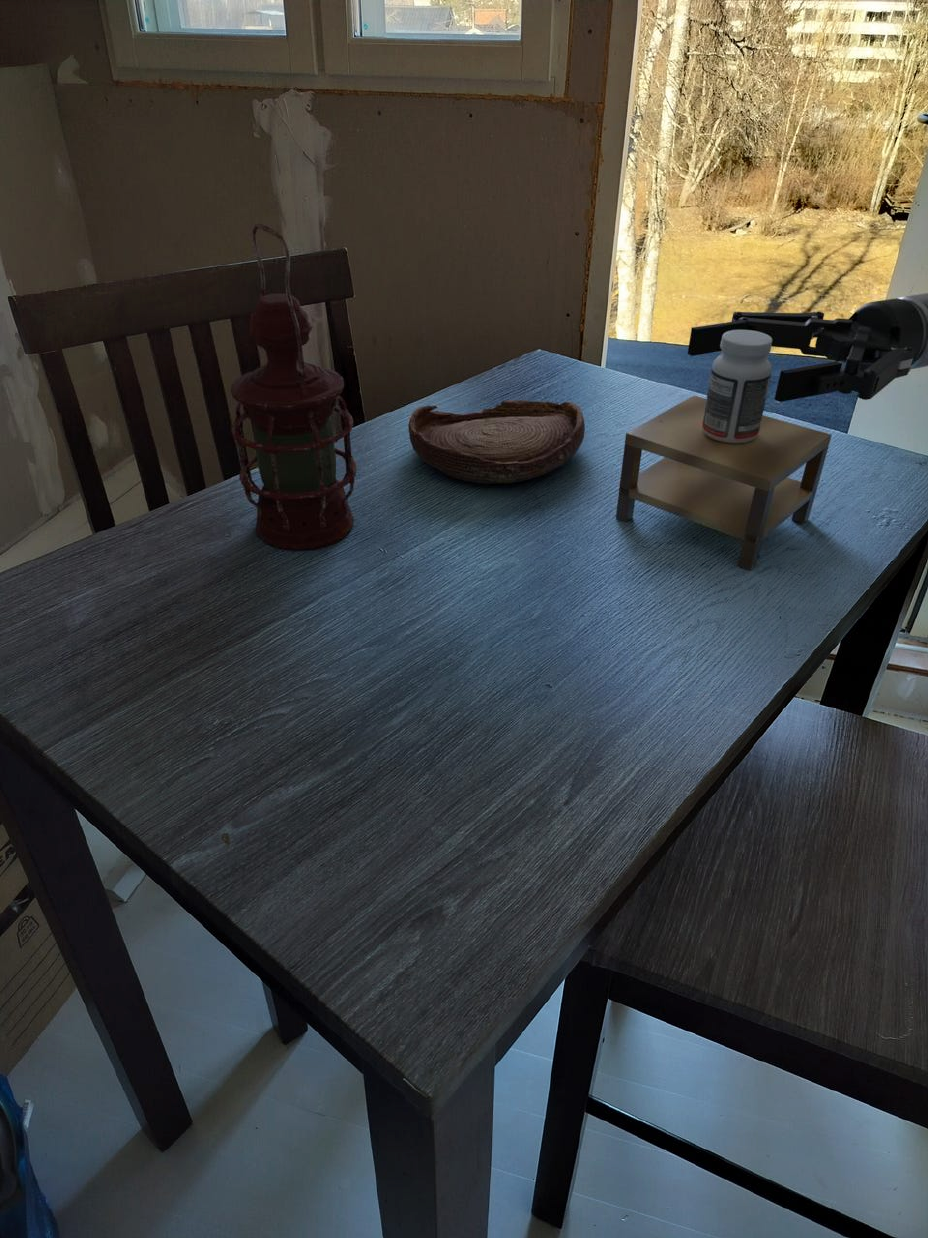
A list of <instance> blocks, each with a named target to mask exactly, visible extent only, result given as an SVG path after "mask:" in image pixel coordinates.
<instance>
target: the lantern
mask: <svg viewBox="0 0 928 1238" xmlns="http://www.w3.org/2000/svg"><path fill="white" fill-rule="evenodd" d="M258 229H259V230H262V231H264V232H266V233H267V234H269V235H272V236H274V237H275V238H277V239H278V240H279V241H280V243H281V246H282V248H283V250H284V253H285V254H284V255H285V274H284V288H285V293H271V294H267V295H265V294H266V277H265V269H264V265H263V260H262V257H261V254H260V250H259V246H258V241H257V231H258ZM251 238H252V239H251V240H252V245H253V250H254V253H255V257H256V260H257V264H258V268H259V273H260V285H261V286H260V287H261V288H260V298H259V299H258V301H257V302H256V304H255V310H254V311H253V313H252V314H251V315H250V319H249V320H250V326H249V328H248V332H249V335H250V336H252V337H253V340H254V342H255V345H256V346H258V347H260V348H262V349H263V350H264V351H265V355H266V360H267V362H266V364H265V365H262V366H260V367H257V368H256V369H254V370H252V371H249V372H245V373H244V374H242V375H241V376H239V377H238V378H236V379H235V380H234V382H232V384H231V385H230V394H231V396H232V398H233V399H234V400H235V401H236V402H237V405H236V407H235V419H234V420H233V422H232V424H231V427H230V429H231V430H230V431H231V434H232V437H233V438H234V440H235V441H236V446H237V450H238V456H239V461H240V462H239V463H240V470H239V473H238V474H239V475H238V478H239V481H240V484H241V485H242V486H243V490H244V493H245V497H246V499H247V500H248V502H249V503H250V504H252V505H253V506H255V508H256V509H257V511H256V513H257V514H256V522H255V532H256V534H257V536H258V538H259V539H260V540H261V541H262V542H264V543H265V544H267V545H269V546H271V547H273V548H278V549H281V550H286V551H305V550H317V549H322V548H324V547H328V546H332V545H334V544H336V543H337V542H339V541H340V540H343V539H344V538H345V537H346V536H348V535H349V534H350V533H351V530H352V529H353V527H354V523H355V519H354V515H353V513H352V511H351V507H350V506H349V502H348V500H349V498H350V496H351V495H352V494H353V493H354V489H355V485H354V484H355V477H356V476H357V469H358V468H357V462H356V460H355V458H354V457H353V455H352V446H351V433H352V430H353V426H354V419H353V417H352V415H351V413H350V411H349V410H348V408H347V403H346V401H345V399H344V397H342V395H341V394H342V392H343V389H344V387H345V381H344V377H342V376H341V374H339V372H337V371H335V370H333V369H330V368H327V367H323V366H319V365H315V364H312V363H309V362H305V361H304V352H303V346H305V345H307V344H308V342H309V340H310V333H311V332H312V330H313V325H312V323H311V321H309V314H308V313H307V312H306V310H305V309H303V308H302V306H301V303H300V301H299V300H298V299H297V298H296V297H295V296H294V295H292V294H291V288H290V273H291V271H290V270H291V255H290V249H289V246H288V244H287V242H286V240H285V238H284V236H283V235H282V234H280V233H279V232H278V231H276V230H275V229H273V228H272V227H269V226H267V225H264V224H261V223H257V224H255V225H254V226H253V228H252V230H251ZM337 399H338V400H337ZM338 401H339V402H340V404H339V405H337V403H338ZM241 407H242V411H243V413H242V411H241ZM334 412H336V413H339V414H340V415H341V420H342V430H341V431H340V432H338V433H337V434H335V435H334V431H333V424H332V415H333V413H334ZM247 419H249V420H250V421H251V422H252V429H253V436H254V442H253V441H251V440H249V439H247V438H245V435H244V428H243V427H244V421H245V420H247ZM341 439H343V444H344V451H343V450H341V449H339V448H336V447H335V443H337V442H338V441H340V440H341ZM247 447H248V448H251V449H253V450H255V453H256V455H254V456H252V457H251V458H248V452H247V451H248V450H247ZM337 455H338V456H339V457H341V458H342V459H343V460H344V463H345V474H344V476H343V477H342V480H341V481H339V480H338V479H337ZM255 463H257V468H258V472H259V475H260V479H261V482H262V484H263V485H262V487H261V488H259V486H258V485H257V484H256V483H255V482H254V480H253V478H252V472H251V469H250V468H251V467H252V466H253V465H254V464H255ZM348 484H349V490H348V492H347V494H346V491H345V488H344V487H346V486H348ZM252 493H253V494H255V495H257V496H258V499H257V502H256V501H255V500H254V499H253V498H252Z"/></svg>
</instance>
